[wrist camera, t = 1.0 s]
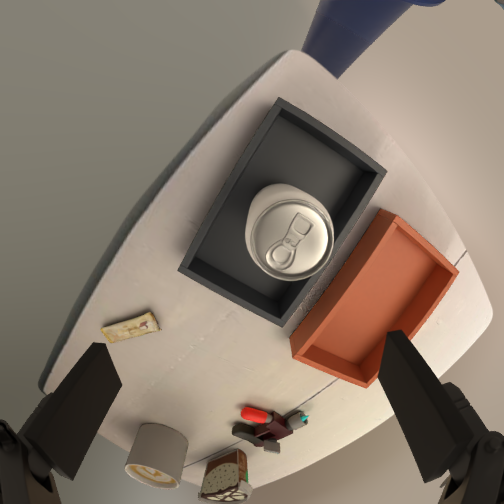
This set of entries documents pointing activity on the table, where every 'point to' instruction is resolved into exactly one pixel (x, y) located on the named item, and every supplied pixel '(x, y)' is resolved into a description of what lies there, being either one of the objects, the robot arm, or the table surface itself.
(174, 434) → the coffee mug
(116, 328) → the snack bar
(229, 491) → the food container
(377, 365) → the terracotta bin
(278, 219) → the can
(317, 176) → the grey bin
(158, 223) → the table surface
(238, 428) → the toy gun
